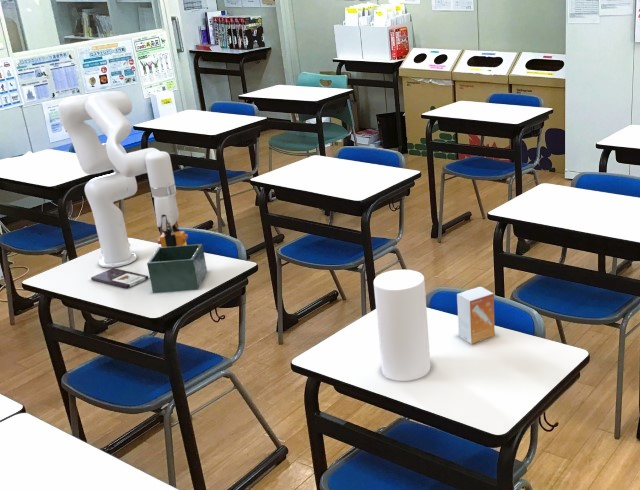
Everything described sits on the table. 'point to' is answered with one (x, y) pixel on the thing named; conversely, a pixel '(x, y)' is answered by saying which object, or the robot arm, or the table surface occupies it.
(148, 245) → the table surface
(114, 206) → the robot arm
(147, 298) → the table surface
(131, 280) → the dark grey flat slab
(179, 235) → the packet
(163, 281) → the bin
